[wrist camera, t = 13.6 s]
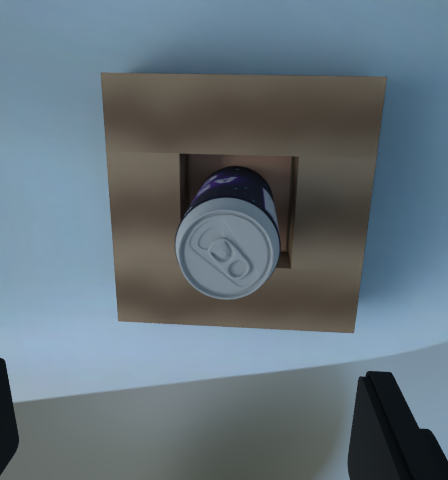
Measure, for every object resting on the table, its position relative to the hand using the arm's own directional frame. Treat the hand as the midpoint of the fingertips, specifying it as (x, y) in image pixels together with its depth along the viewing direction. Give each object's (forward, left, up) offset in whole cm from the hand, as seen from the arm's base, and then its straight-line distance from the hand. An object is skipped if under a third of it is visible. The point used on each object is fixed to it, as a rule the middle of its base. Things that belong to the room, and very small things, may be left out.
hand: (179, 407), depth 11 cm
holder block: (0, +1, -24) cm, 24 cm away
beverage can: (0, +1, -23) cm, 23 cm away
